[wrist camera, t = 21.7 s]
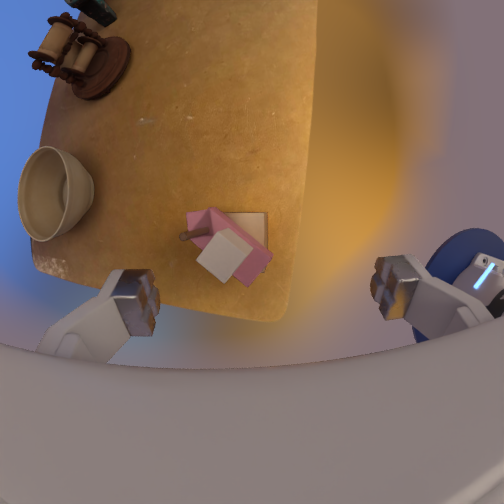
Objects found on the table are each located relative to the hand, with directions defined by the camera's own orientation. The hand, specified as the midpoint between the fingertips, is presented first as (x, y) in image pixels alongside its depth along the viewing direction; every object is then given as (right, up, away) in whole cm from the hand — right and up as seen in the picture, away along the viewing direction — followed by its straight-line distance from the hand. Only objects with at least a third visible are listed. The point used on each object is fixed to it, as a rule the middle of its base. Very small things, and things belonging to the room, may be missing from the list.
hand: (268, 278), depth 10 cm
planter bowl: (-34, +12, +36) cm, 51 cm away
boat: (-3, +2, +27) cm, 28 cm away
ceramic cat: (-36, +60, +28) cm, 75 cm away
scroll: (-31, +38, +31) cm, 58 cm away
